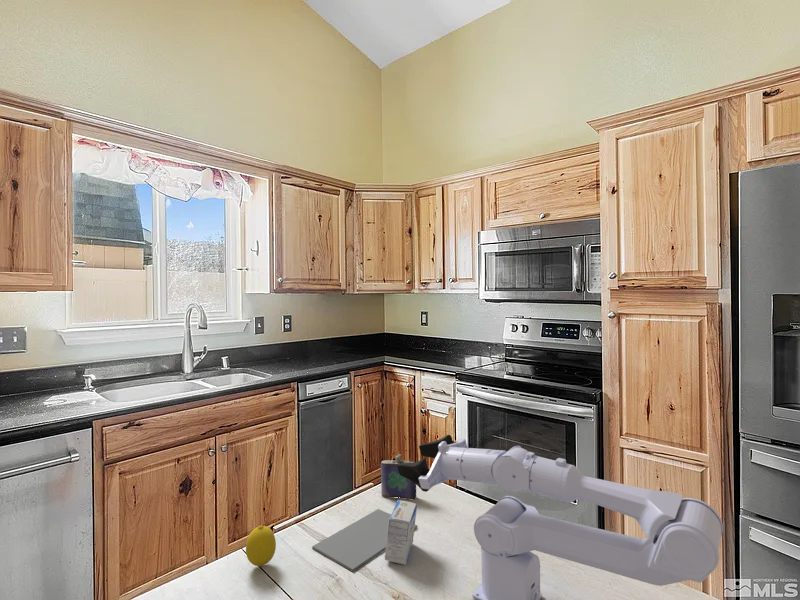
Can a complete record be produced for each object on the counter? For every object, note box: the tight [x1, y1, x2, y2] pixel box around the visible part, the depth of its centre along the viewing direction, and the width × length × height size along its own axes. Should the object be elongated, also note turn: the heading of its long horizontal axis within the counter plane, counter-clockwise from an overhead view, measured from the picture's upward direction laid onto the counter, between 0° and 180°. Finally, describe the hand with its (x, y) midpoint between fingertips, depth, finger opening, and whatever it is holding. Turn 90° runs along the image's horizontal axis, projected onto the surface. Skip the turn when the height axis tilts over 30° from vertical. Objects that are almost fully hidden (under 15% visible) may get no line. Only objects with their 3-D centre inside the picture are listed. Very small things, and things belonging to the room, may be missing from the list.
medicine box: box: [384, 499, 418, 566], centre depth 89 cm, size 8×4×9 cm, turn 168°
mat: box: [311, 508, 418, 573], centre depth 95 cm, size 12×20×1 cm, turn 140°
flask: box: [380, 453, 417, 500], centre depth 114 cm, size 9×3×11 cm, turn 76°
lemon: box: [245, 524, 277, 568], centre depth 85 cm, size 6×6×8 cm
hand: (410, 459), depth 89 cm, fingers open, 7 cm apart
